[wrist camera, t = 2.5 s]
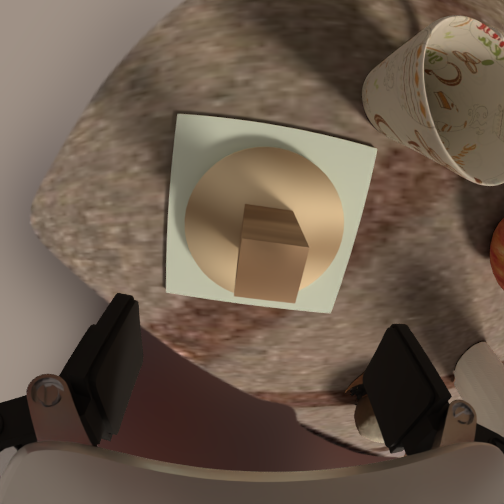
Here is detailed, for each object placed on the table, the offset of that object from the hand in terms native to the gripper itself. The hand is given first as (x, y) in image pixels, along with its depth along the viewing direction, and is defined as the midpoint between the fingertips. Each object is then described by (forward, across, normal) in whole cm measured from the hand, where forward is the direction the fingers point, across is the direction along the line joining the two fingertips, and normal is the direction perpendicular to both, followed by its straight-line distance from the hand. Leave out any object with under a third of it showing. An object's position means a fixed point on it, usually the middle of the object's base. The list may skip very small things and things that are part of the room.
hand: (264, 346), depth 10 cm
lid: (+12, 0, -1) cm, 12 cm away
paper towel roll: (+12, -32, +13) cm, 36 cm away
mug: (+12, -10, -14) cm, 21 cm away
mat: (+12, 0, -1) cm, 12 cm away
